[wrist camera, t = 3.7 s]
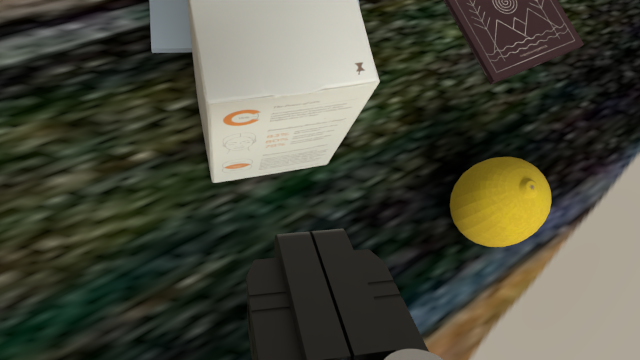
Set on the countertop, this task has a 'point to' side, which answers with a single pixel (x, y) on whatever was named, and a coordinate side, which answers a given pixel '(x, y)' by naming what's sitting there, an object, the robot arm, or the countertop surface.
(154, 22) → the flat blue-gray panel
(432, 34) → the countertop surface
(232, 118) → the small box
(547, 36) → the chocolate bar
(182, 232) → the countertop surface
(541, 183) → the lemon
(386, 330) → the robot arm
